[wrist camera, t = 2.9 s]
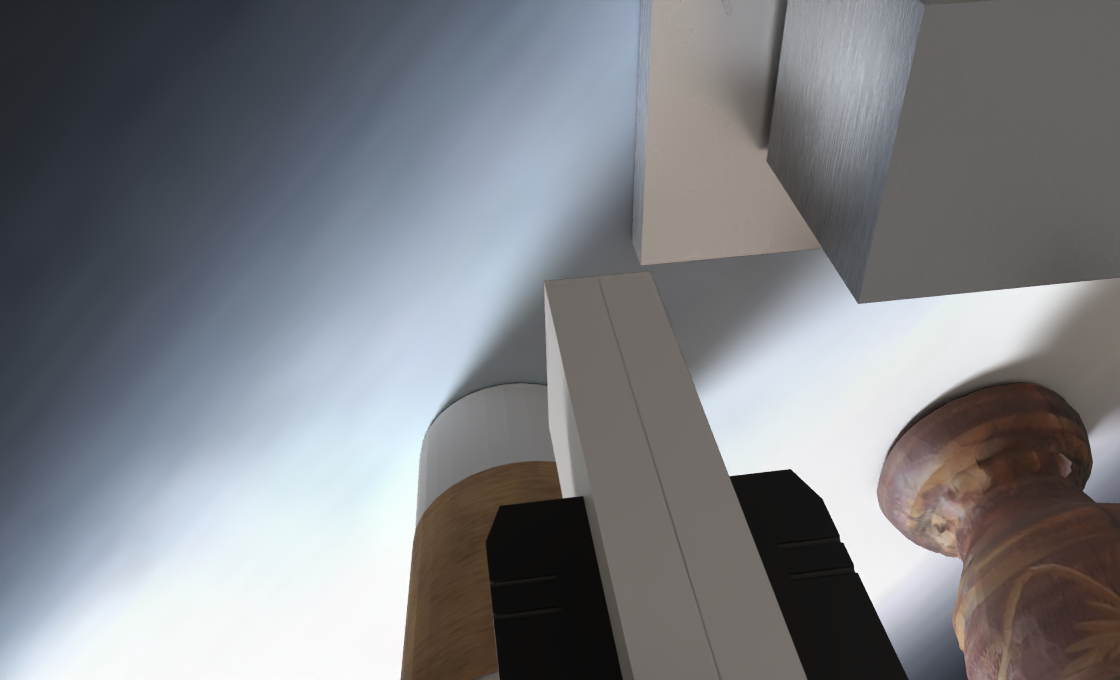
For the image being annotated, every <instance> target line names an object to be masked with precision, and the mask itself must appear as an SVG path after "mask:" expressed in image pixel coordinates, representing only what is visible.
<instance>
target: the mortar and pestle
mask: <svg viewBox="0 0 1120 680" xmlns="http://www.w3.org/2000/svg"><path fill="white" fill-rule="evenodd" d="M1092 464H1093V461H1092V455H1091V449H1090V444H1089V440H1088V436H1087V431H1086V429H1085V426H1084V424H1083V422H1082V420H1081V418H1080V416H1079V414H1078V413H1077V412H1076V411H1075V410H1074V409H1073V408H1072V407H1071V406H1070V405H1069V404H1068V403H1067V402H1066V401H1065V400H1064V398H1062V397H1061V396H1060V395H1058V394H1057V393H1055V392H1053V391H1051V390H1048V389H1046V388H1044V387H1042V386H1039V385H1036V384H1032V383H1012V384H1008V385H1002V386H995V387H990V388H986V389H982V390H979V391H976V392H974V393H971V394H968V395H966V396H963V397H961V398H958V399H955V400H953V401H950V402H949V403H947V404H945V405H944V406H942V407H940V408H938V409H937V410H935V411H934V412H932V413H930V414H929V415H927V416H926V417H924V418H922V419H921V420H920V421H918V422H917V423H916V424H915V425H914V426H913V427H911V428H910V429H909V430H908V431H907V432H906V433H905V434H904V435H903V436H902V437H901V438H900V439H899V440H898V442H897V443H896V444H895V446H894V447H893V449H892V450H891V452H890V453H889V455H888V457H887V459H886V461H885V463H884V465H883V468H882V472H881V475H880V479H879V483H878V488H877V495H878V501H879V506H880V509H881V510H882V512H883V514H884V515H885V516H886V518H887V519H888V520H889V521H890V522H891V523H892V524H893V525H894V526H895V527H896V528H897V529H898V530H899V531H900V532H901V533H902V534H903V535H904V536H905V537H907V538H908V539H909V540H911V541H912V542H914V543H915V544H917V545H919V546H921V547H923V548H925V549H928V550H930V551H933V552H936V553H941V554H943V555H945V556H948V557H958V558H959V559H961V560H962V561H963V563H964V565H963V571H962V575H961V580H960V584H959V589H958V593H957V598H956V602H955V607H954V611H953V626H954V629H955V632H956V635H957V638H958V641H959V645H960V649H961V650H962V651H963V652H964V656H965V663H966V670H967V677H968V680H1120V503H1096V502H1095V501H1093V500H1092V499H1091V498H1090V497H1089V496H1088V495H1086V494H1085V493H1084V492H1083V490H1084V488H1085V485H1086V482H1087V480H1088V479H1089V477H1090V474H1091V469H1092Z"/></svg>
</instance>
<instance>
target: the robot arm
mask: <svg viewBox="0 0 1120 680" xmlns="http://www.w3.org/2000/svg"><path fill="white" fill-rule="evenodd" d="M544 297H545V327H546V357H547V387H548V417H549V429H550V434H551V439H552V444H553V450H554V455H555V460H556V465H557V470H558V476H559V481H560V486H561V491H562V496H563V498H562V499H553V500H545V501H536V502H528V503H519V504H511V505H502V506H499V509H498V511H497V514H496V516H495V519H494V522H493V524H492V527H491V529H490V532H489V534H488V537H487V540H486V553H487V563H488V573H489V583H490V593H491V603H492V613H493V623H494V633H495V643H496V652H497V662H498V672H499V680H908V678H907V675H906V673H905V671H904V669H903V667H902V665H901V663H900V661H899V659H898V657H897V654H896V652H895V650H894V648H893V646H892V644H891V642H890V640H889V638H888V636H887V634H886V631H885V629H884V627H883V625H882V623H881V621H880V619H879V617H878V615H877V613H876V611H875V608H874V606H873V604H872V602H871V600H870V598H869V596H868V594H867V592H866V590H865V587H864V585H863V583H862V581H861V579H860V577H859V575H858V573H855V571H854V564H853V562H852V560H851V558H850V556H849V554H848V552H847V550H846V548H845V546H844V543H841V542H840V535H839V533H838V531H837V529H836V527H835V525H834V523H833V520H832V518H831V516H830V514H829V512H828V510H827V508H826V506H825V504H824V502H823V499H822V498H821V497H820V496H819V495H817V494H816V493H815V492H814V491H813V490H812V489H811V488H810V487H809V486H808V485H807V484H806V483H805V482H804V481H803V480H801V479H800V478H799V477H798V476H797V475H796V474H795V473H794V472H793V471H792V470H791V469H788V470H780V471H771V472H763V473H754V474H746V475H737V476H729V475H728V472H727V470H726V467H725V464H724V462H723V459H722V457H721V454H720V451H719V449H718V446H717V444H716V441H715V438H714V436H713V433H712V431H711V428H710V425H709V423H708V420H707V418H706V415H705V412H704V410H703V407H702V405H701V402H700V399H699V397H698V394H697V392H696V389H695V386H694V384H693V381H692V379H691V376H690V373H689V371H688V368H687V366H686V363H685V360H684V358H683V355H682V353H681V350H680V347H679V345H678V342H677V340H676V337H675V334H674V332H673V329H672V327H671V324H670V321H669V319H668V316H667V314H666V311H665V308H664V306H663V303H662V301H661V298H660V295H659V293H658V290H657V288H656V285H655V282H654V280H653V277H652V275H651V272H650V271H645V272H634V273H624V274H613V275H602V276H592V277H581V278H571V279H560V280H550V281H544Z"/></svg>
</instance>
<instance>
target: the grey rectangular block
mask: <svg viewBox="0 0 1120 680" xmlns="http://www.w3.org/2000/svg"><path fill="white" fill-rule="evenodd" d="M766 161H767V163H768V164H769V166H770V168H771V169H772V171H773V172H774V174H775V175H776V177H777V178H778V180H779V182H780V183H781V185H782V186H783V188H784V189H785V191H786V192H787V194H788V196H789V197H790V199H791V200H792V202H793V203H794V205H795V206H796V208H797V210H798V211H799V213H800V214H801V216H802V217H803V219H804V220H805V222H806V224H807V225H808V227H809V228H810V230H811V231H812V233H813V234H814V236H815V238H816V239H817V241H818V242H819V244H820V245H821V247H822V248H823V250H824V252H825V253H826V255H827V256H828V258H829V259H830V261H831V262H832V264H833V265H834V267H835V269H836V270H837V272H838V273H839V275H840V276H841V278H842V279H843V281H844V283H845V284H846V286H847V287H848V289H849V290H850V292H851V293H852V295H853V297H854V298H855V300H856V301H857V303H858V304H861V303H871V302H881V301H891V300H901V299H911V298H921V297H931V296H941V295H951V294H961V293H971V292H981V291H991V290H1001V289H1010V288H1020V287H1030V286H1040V285H1050V284H1060V283H1070V282H1080V281H1090V280H1100V279H1110V278H1120V0H788V3H787V10H786V18H785V25H784V33H783V40H782V48H781V55H780V63H779V70H778V78H777V85H776V93H775V100H774V108H773V115H772V123H771V130H770V138H769V145H768V153H767V160H766Z"/></svg>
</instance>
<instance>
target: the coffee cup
mask: <svg viewBox="0 0 1120 680" xmlns="http://www.w3.org/2000/svg"><path fill="white" fill-rule="evenodd" d="M562 498H563V496H562V491H561V486H560V481H559V476H558V470H557V465H556V460H555V455H554V450H553V444H552V439H551V434H550V429H549V417H548V387H547V386H544V385H540V384H527V383H516V384H503V385H498V386H493V387H489V388H484V389H482V390H479V391H477V392H474V393H471V394H469V395H467V396H465V397H463V398H461V399H460V400H458V401H456V402H455V403H453V404H452V405H450V406H449V407H448V408H447V409H446V410H444V411H443V412H442V413H441V414H440V415H439V416H438V417H437V419H436V420H435V421H434V422H433V424H432V425H431V426H430V427H429V429H428V431H427V433H426V435H425V437H424V440H423V443H422V448H421V454H420V463H419V478H418V495H417V513H416V530H415V536H414V541H413V550H412V561H411V572H410V583H409V594H408V605H407V616H406V627H405V638H404V649H403V660H402V671H401V680H499V672H498V662H497V652H496V643H495V633H494V623H493V613H492V603H491V593H490V583H489V573H488V563H487V553H486V540H487V537H488V534H489V532H490V529H491V527H492V524H493V522H494V519H495V516H496V514H497V511H498V509H499V506H502V505H511V504H519V503H528V502H536V501H545V500H553V499H562Z"/></svg>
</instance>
